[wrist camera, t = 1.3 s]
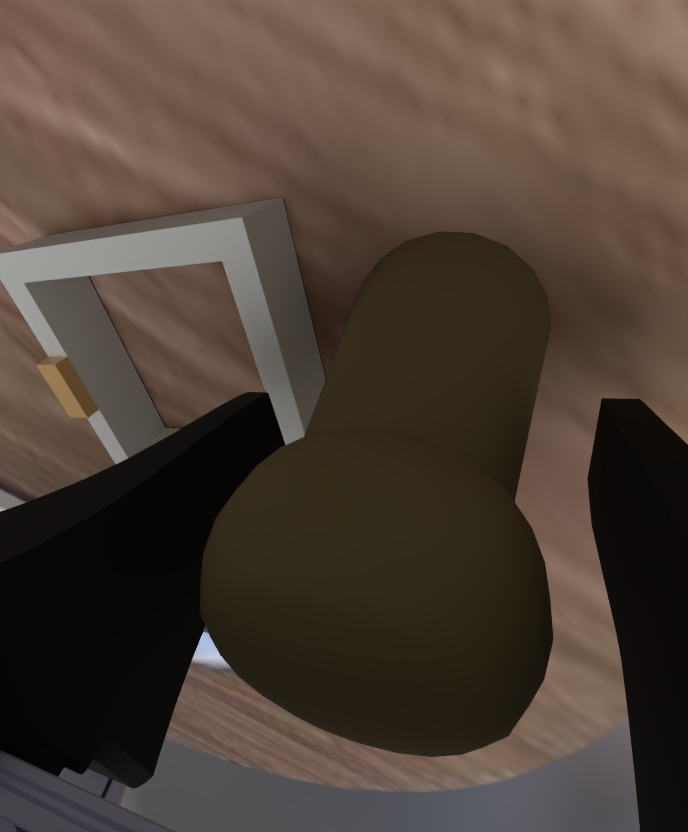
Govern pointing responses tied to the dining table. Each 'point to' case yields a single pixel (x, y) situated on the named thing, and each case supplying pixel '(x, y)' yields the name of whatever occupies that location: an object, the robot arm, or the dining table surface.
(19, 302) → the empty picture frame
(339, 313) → the dining table surface
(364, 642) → the brown pear
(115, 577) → the robot arm
